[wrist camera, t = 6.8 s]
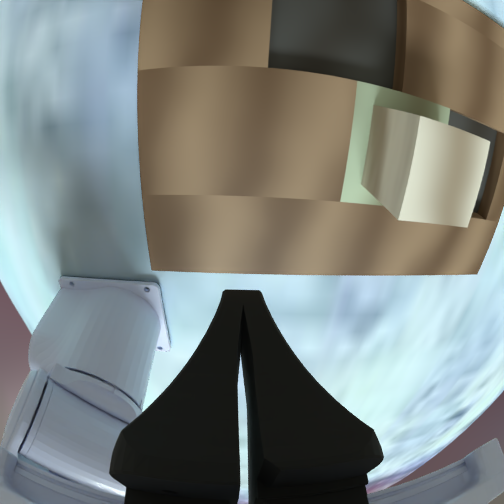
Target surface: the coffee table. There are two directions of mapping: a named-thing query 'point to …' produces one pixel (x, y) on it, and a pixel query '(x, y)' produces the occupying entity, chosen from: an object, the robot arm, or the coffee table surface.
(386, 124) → the block
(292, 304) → the coffee table surface
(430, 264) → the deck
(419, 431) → the coffee table surface
